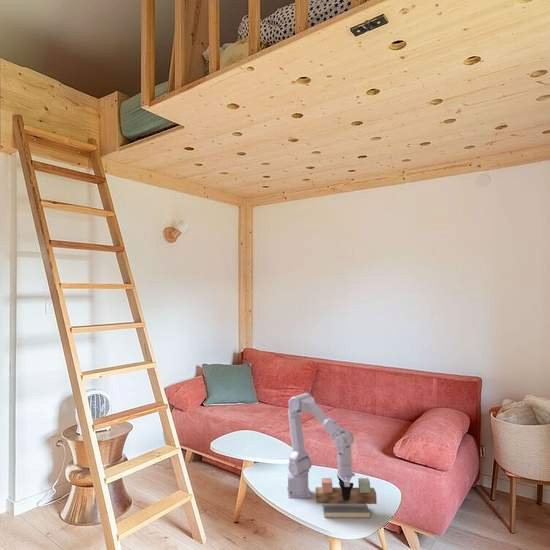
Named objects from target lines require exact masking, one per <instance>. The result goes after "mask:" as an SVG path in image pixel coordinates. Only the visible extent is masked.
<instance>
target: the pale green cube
mask: <svg viewBox="0 0 550 550" xmlns="http://www.w3.org/2000/svg"><path fill="white" fill-rule="evenodd" d="M357 481H358V488H359V490H360V493H370V488H371V482H370V479H369V478H368V477H367V478H366V477H359V478H358V480H357Z"/></svg>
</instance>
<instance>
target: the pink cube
mask: <svg viewBox="0 0 550 550" xmlns="http://www.w3.org/2000/svg"><path fill="white" fill-rule="evenodd" d="M321 487H322V492H323V493H333V480H332V477H321Z"/></svg>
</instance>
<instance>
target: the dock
mask: <svg viewBox="0 0 550 550" xmlns="http://www.w3.org/2000/svg"><path fill="white" fill-rule="evenodd" d="M322 511H323V516H324V518H371V512H370V510H369V507H368V504H322Z"/></svg>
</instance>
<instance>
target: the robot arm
mask: <svg viewBox="0 0 550 550" xmlns="http://www.w3.org/2000/svg"><path fill="white" fill-rule="evenodd" d="M287 405H288V410H287V415H288V424H289V431H290V432H289V433H290V441H291V448H292V449H291V450H292V452H291V454H290V456H289V457H288V460H289V461H288V471H289V472H288V473H287V486H286V488H287V494H288V495H287V497H288V499H311V494H310V493H311V492H310V487H309V473H310V469H311V468H312V464H313V463H312V460H311V458H310V455H309V452H307V451H306V449H305V442H304V435H303V426H302V416H301V415H302V414H303V412H307V413H310V414H311V415H312V416H313V417H314V418H315V419H317V420H318V421H319V422H320V423H321V424H322V429H323V430H324V431H325V432H326V433H327V434H328V435H329V437H331V438H332V439H333V444H334V446H335V448H336V452H337V453H336V456H337V458H336V459H337V462H336V463H337V473H336V477H337V479H338V485H339V487H341V490H342V494H343V499H344V501H349V498H350V493H351V490H352V488H354V482H351V481H352V478H353V477H356V473H355V472H353V471H352V469H353V468H352V465H353V463H352V445H353V443H354V441H355V439H354V435H353V434H352V433H351V431H350V430H346V429H344V428H343V427H342V426H341V425H340V424H339V423H338V422H337V420H336V419H333V418H329V417H328V416H327V414H325V412H324V411H323V410H322V409H321V408H320V407H319V405H318V404H317V403H316V401H315V398H314V397H313V396H312V394H310V393H308V392H304V393H302V394H299V395H294V396H292V397H290V398H289V400H288V404H287Z"/></svg>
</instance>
